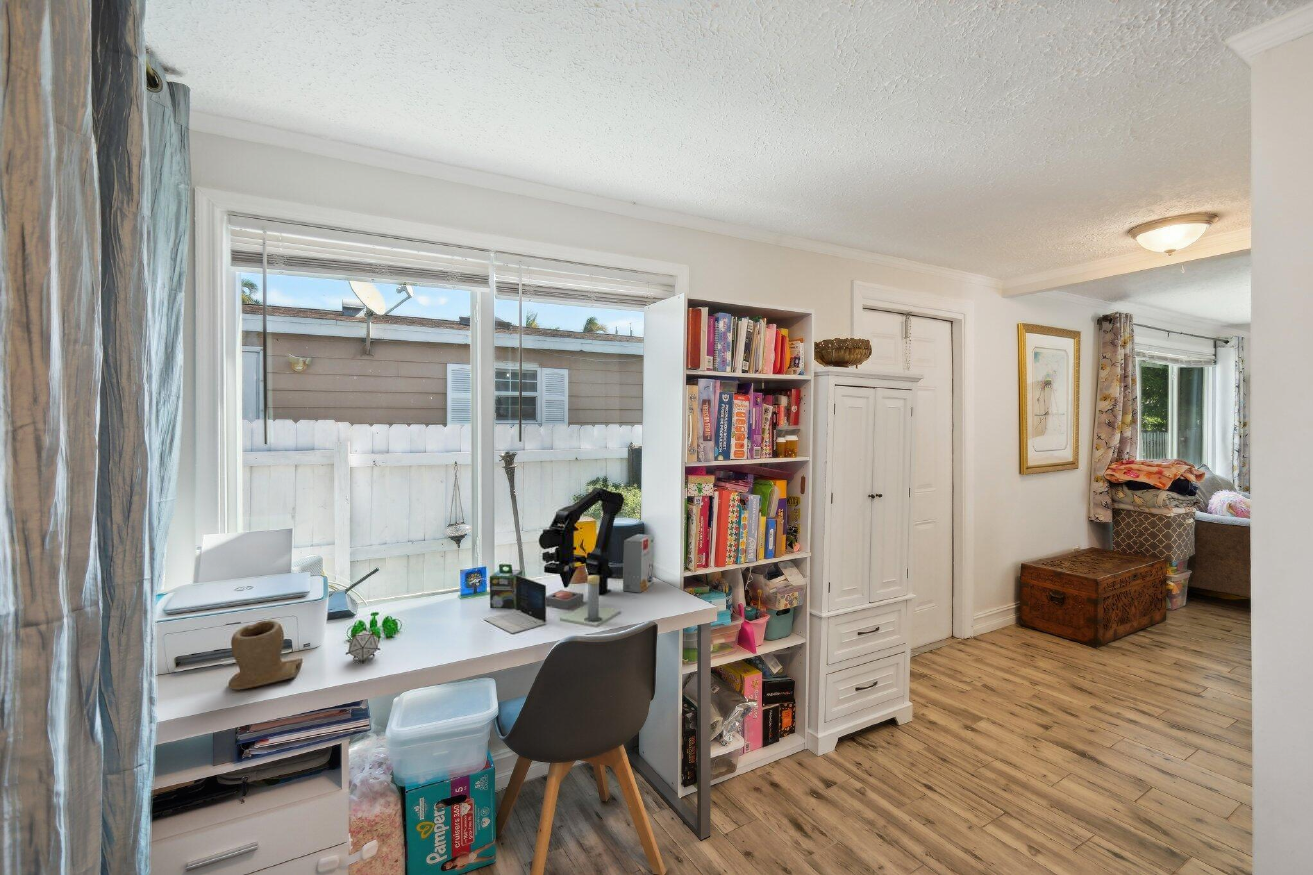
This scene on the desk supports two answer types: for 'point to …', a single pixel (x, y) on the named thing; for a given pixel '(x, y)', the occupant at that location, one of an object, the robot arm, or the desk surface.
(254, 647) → the stone cup
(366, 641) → the game die
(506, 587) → the chalk box
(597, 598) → the marker
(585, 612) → the pale green board
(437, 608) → the desk surface
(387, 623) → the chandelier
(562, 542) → the robot arm
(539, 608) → the laptop
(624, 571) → the hard drive box
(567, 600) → the button housing
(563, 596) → the button
